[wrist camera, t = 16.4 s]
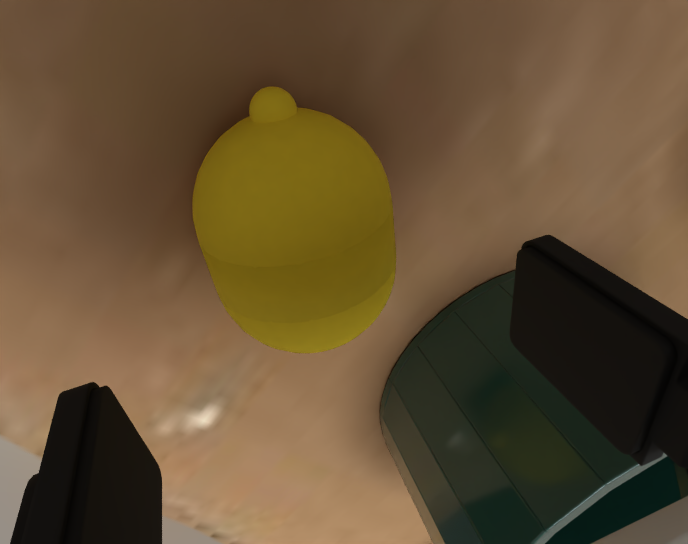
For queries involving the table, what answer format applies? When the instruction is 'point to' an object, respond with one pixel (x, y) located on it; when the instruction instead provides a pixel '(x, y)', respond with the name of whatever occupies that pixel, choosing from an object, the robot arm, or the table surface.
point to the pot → (505, 439)
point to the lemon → (296, 226)
